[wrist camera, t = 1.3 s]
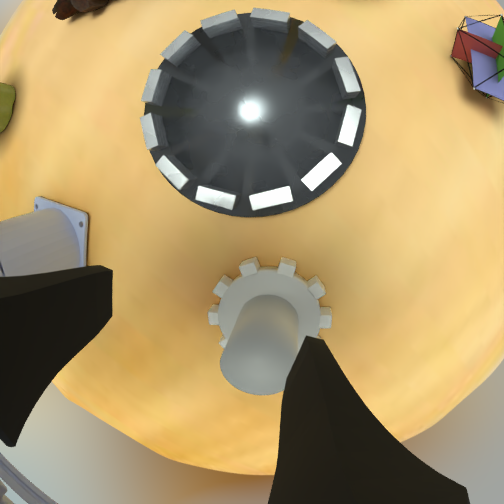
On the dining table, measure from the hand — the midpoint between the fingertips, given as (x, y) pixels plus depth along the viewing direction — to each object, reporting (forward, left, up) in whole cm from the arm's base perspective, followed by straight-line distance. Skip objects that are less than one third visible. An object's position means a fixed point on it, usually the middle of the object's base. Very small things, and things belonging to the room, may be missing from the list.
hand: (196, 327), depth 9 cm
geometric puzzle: (+19, -13, -10) cm, 25 cm away
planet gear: (-4, -3, -10) cm, 11 cm away
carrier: (+9, +2, -10) cm, 13 cm away
